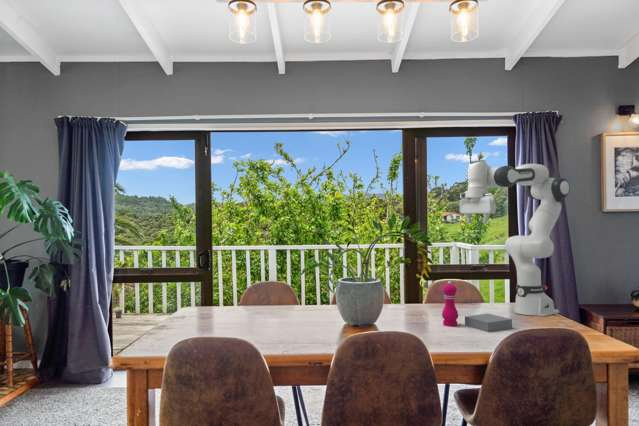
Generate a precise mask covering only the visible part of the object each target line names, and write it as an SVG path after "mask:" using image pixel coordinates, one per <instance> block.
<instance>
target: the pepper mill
mask: <svg viewBox="0 0 639 426" xmlns="http://www.w3.org/2000/svg"><path fill="white" fill-rule="evenodd" d="M452 283H453V282H452V281H451V280H449V281H447V284H445V285H444V286H443V287H442V292H443V293H444V294H443V295H444V297H443V298H444V300H445V301H444V302H445V304H444V308H443V309H442V312H441V317H442V319H443V321H442V324H443V326H446V327H456V326H458V321H457V320H458V319H459V313H458V310H457V307H456V305H455V299H456V293H457V287H456V285H454V284H452Z"/></svg>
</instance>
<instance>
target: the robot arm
mask: <svg viewBox="0 0 639 426" xmlns="http://www.w3.org/2000/svg"><path fill="white" fill-rule="evenodd" d="M549 172H550V171H549V169H548V167H547V166H546V165H543V164H541V163H540V164H538V163H525V164H520V165H518V166H516V167H513V166H511V165H504V166H498V167H492V166H490V165H489V164H488V163H487V162H486V160H484V159H482V160H481V159H480V160H475V161H474V160H473V161H471V162H469V164H468V168H467V182H468V183H467V184H468V185H467V190H466V191H464V192H463V193H460V194H459V198H460V200H459V212H460V214H465V218H466V220H467V224H473V219H472V218H471V217H472V214H473V215H474V214H475V215H476V214H477V215H478V214H481V215H482V214H483V216H484V217H483V218H482V220H481V222H482V224H488V220H489V217H490V214H495V213H496V212H497V205H496V200H495V196H494V194H493V193H492V192H491V193H488V189H493V188H495V189H496V188H511V187H512V186H514V185H517V186H525V193H526V195H527V197H528V198H530V199H532V200H540V205H539V206H537V208H536V210H535V212H534V213H533V215H532V217H531V218H530V220H529V222H528V229H529V230H530V231H531V233H530V234H529V235H520V234H519V235H512V236H510V237H507V239H506V241H505V242H504V249H505V251H506V253H507V254H508V255H509V256H510V257H511V259H512V261H513V262H514V265H515V270H516V281H517V282H516V286H515V288H516V290H515V291H516V295H515V301H514V305H515V306H514V307H513V312H514V313H515V314H518V315H519V314H520V315H524V316H534V317H535V316H539V317H540V316H541V317H548V316H551V315H555V314H558V313H560V310H559V309H556V308H555V303H554V301H553V299H552V298H550V297H549V296H548V295H547V294H546V293H545V291H547V289H548V286H547V285H542V271H541V269H540V267H539V266H537V265H536V264H535V263H534V260H533V259H546V258H549V257H551V256H552V255H553V253H554V250H555V249H554V248H555V246H554V242H553V241H552V239H551V238H550V237H551V232H552V230H553V229H554V227H555V224H556V223H557V222H558V219H559V217H560V214H561V210H562V204H561V203H562V202H564V201H565V200H566V197H568V195H569V193H570V189H571V188H570V187H571V186H570V183H569V181H568V180H567V179H566V178H564V177H549V175H550V173H549ZM544 290H545V291H544Z"/></svg>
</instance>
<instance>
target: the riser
mask: <svg viewBox="0 0 639 426" xmlns="http://www.w3.org/2000/svg"><path fill="white" fill-rule="evenodd" d="M464 326H465V327H469V328H473V329H477V330H480V331H484V332H486V333H492V332H497V331H503V330H510V329H513V319H512V318H508V317H504V316H501V315H496V314H492V313H482V314H481V313H480V314H473V315H468V316H467V315H465V316H464Z"/></svg>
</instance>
